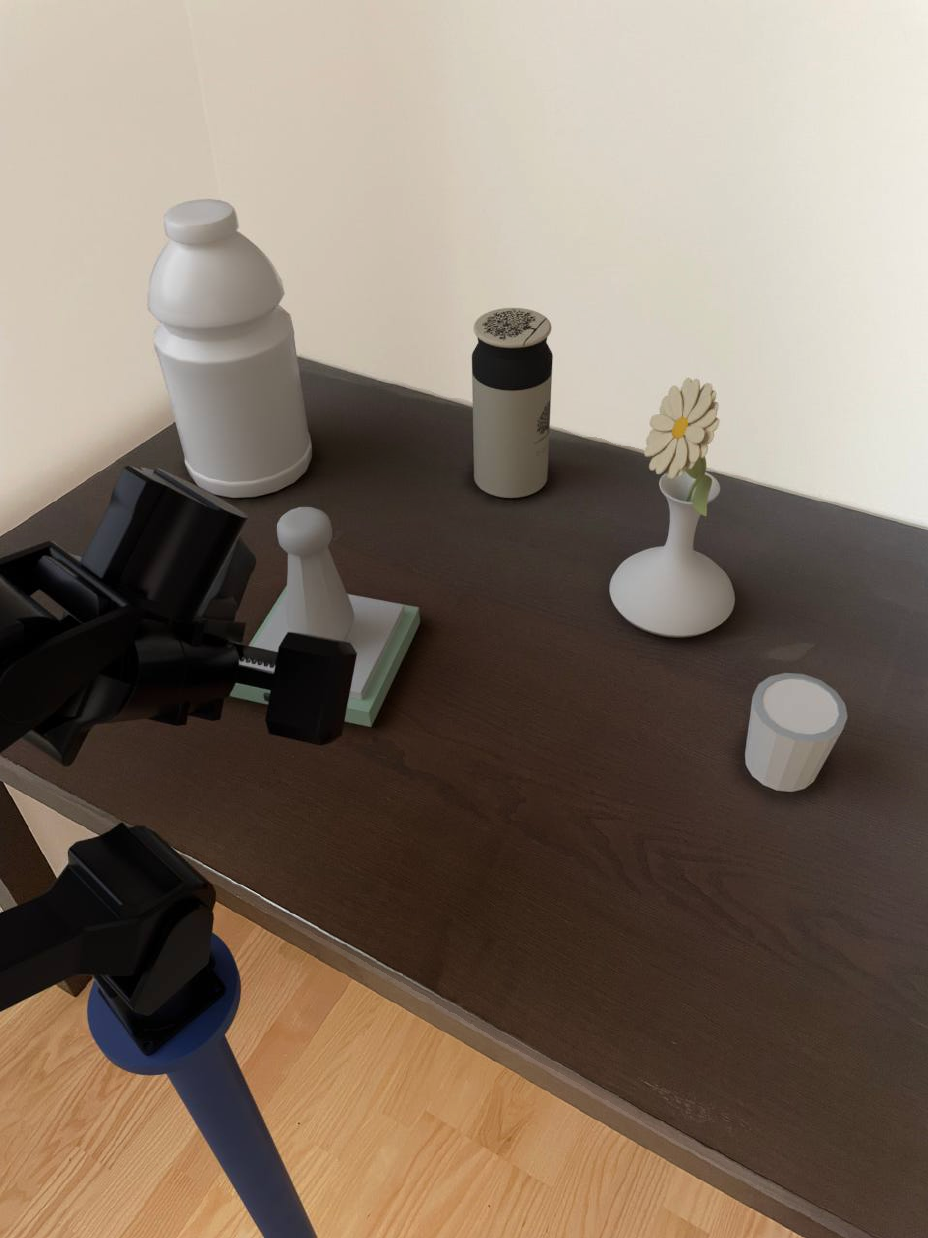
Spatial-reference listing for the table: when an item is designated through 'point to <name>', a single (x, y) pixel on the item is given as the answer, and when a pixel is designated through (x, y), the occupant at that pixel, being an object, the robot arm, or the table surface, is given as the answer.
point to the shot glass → (792, 730)
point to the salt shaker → (313, 576)
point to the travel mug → (511, 401)
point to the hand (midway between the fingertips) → (259, 663)
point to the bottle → (227, 355)
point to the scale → (373, 636)
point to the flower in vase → (678, 526)
